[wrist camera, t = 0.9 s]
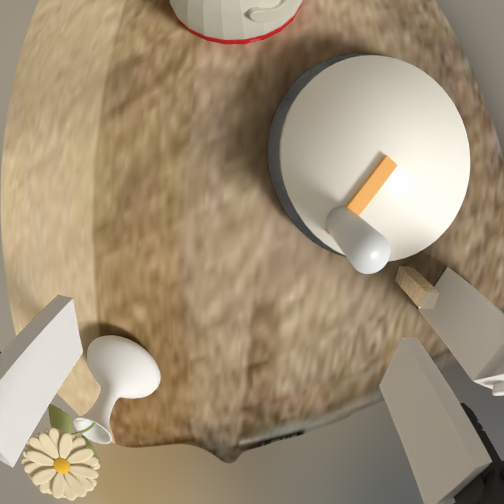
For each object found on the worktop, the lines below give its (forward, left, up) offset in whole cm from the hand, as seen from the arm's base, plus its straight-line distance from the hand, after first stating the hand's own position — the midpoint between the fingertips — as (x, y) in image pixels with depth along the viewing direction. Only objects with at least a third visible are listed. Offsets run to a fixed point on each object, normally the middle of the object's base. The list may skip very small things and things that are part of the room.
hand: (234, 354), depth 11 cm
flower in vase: (+22, -16, -23) cm, 36 cm away
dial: (-8, +12, -21) cm, 25 cm away
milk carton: (+8, +28, -23) cm, 37 cm away
